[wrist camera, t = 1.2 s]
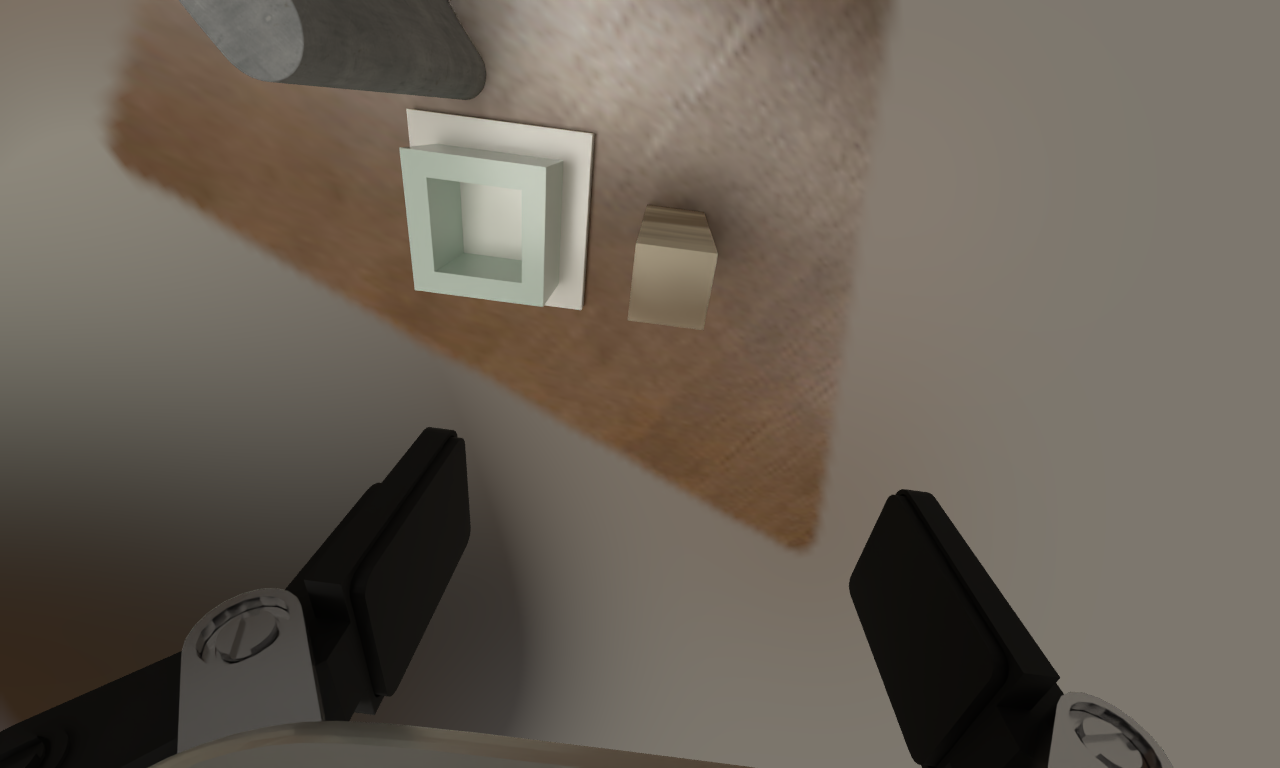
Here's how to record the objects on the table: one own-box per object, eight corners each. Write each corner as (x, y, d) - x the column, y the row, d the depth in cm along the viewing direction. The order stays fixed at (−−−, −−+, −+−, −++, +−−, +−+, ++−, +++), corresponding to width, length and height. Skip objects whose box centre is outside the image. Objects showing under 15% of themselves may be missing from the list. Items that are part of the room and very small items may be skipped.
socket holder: (413, 109, 32) (362, 107, 27) (594, 133, 32) (579, 136, 27) (430, 285, 38) (391, 312, 33) (583, 305, 38) (569, 335, 33)
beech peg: (647, 204, 34) (636, 243, 24) (704, 212, 34) (718, 253, 24) (640, 261, 36) (627, 320, 26) (694, 268, 36) (703, 330, 26)
